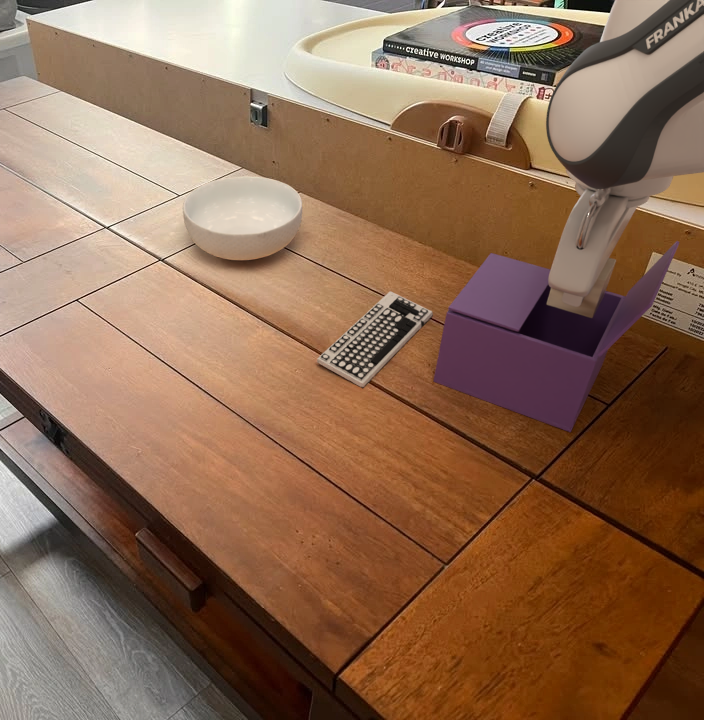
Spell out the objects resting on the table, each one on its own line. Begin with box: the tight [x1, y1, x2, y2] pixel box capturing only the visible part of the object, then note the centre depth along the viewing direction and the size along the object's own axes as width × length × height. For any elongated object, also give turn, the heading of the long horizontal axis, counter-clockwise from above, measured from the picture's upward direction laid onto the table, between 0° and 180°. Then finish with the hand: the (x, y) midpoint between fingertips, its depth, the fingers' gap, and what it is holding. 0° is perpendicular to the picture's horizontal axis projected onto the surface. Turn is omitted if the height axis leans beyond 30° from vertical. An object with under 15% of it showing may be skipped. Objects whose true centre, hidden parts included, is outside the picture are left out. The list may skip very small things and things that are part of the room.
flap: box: [598, 240, 681, 357], centre depth 74 cm, size 7×13×1 cm
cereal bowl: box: [182, 175, 303, 261], centre depth 107 cm, size 17×17×7 cm
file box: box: [432, 252, 626, 433], centre depth 83 cm, size 15×13×10 cm
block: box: [547, 257, 617, 318], centre depth 76 cm, size 4×4×4 cm
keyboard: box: [316, 290, 434, 389], centre depth 91 cm, size 17×6×2 cm, turn 142°
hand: (580, 287), depth 76 cm, fingers closed on block, 4 cm apart
